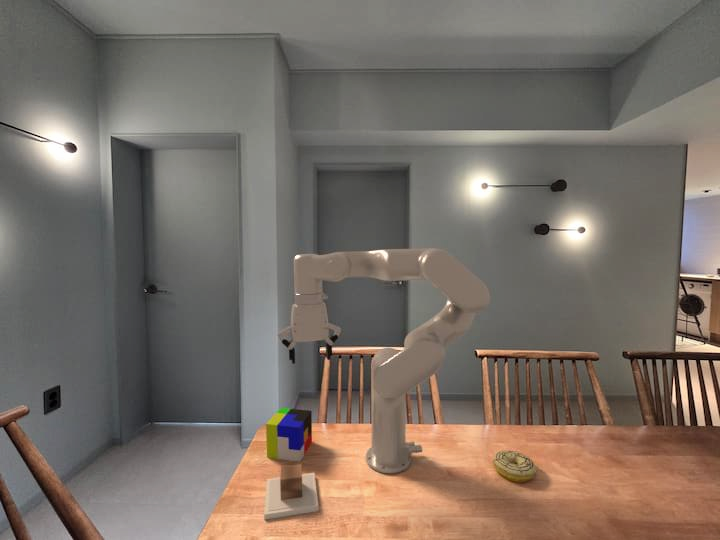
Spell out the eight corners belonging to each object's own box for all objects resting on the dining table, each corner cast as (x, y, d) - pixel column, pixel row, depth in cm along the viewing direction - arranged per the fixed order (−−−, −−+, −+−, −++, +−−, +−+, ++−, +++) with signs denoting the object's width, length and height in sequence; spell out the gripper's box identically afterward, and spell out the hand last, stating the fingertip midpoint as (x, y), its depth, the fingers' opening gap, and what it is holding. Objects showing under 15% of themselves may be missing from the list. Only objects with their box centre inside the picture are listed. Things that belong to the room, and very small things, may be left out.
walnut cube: (301, 483, 89) (301, 464, 88) (302, 497, 84) (302, 477, 84) (281, 485, 88) (280, 466, 88) (280, 500, 83) (280, 479, 83)
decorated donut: (542, 473, 95) (543, 459, 94) (524, 492, 88) (525, 477, 87) (505, 455, 102) (505, 442, 102) (485, 471, 95) (486, 457, 95)
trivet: (314, 477, 93) (314, 472, 93) (318, 511, 81) (318, 505, 81) (267, 483, 91) (266, 478, 91) (264, 519, 79) (264, 514, 79)
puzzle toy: (300, 461, 100) (299, 427, 99) (267, 457, 102) (266, 424, 101) (311, 442, 109) (311, 410, 109) (281, 438, 111) (280, 407, 111)
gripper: (337, 295, 103) (338, 353, 104) (276, 299, 99) (278, 359, 100) (342, 299, 96) (344, 361, 97) (276, 303, 91) (279, 368, 93)
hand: (311, 360), depth 99 cm, fingers open, 9 cm apart
